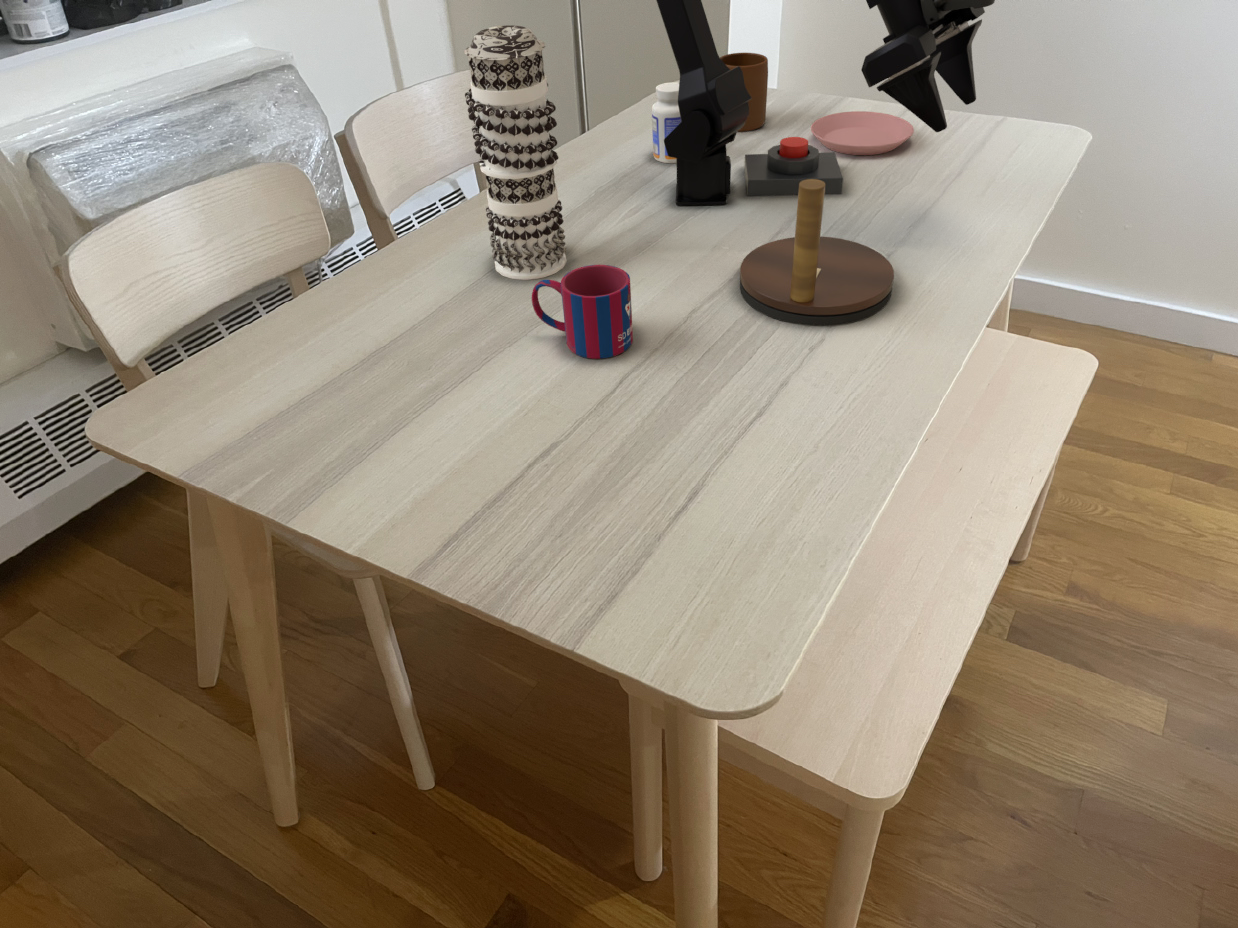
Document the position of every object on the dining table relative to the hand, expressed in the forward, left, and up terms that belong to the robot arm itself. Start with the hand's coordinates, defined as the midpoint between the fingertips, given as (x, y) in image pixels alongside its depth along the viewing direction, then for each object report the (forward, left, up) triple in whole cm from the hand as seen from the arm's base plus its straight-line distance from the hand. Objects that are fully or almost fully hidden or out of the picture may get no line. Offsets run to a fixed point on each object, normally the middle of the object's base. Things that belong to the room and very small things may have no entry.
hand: (957, 115), depth 92 cm
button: (-14, +20, -11) cm, 27 cm away
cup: (-38, -19, -15) cm, 45 cm away
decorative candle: (-46, -2, -15) cm, 49 cm away
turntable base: (-14, -9, -15) cm, 22 cm away
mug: (-21, +41, -15) cm, 49 cm away
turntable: (-14, -9, -14) cm, 22 cm away
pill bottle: (-30, +30, -15) cm, 45 cm away
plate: (-3, +34, -15) cm, 37 cm away
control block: (-14, +20, -15) cm, 29 cm away
